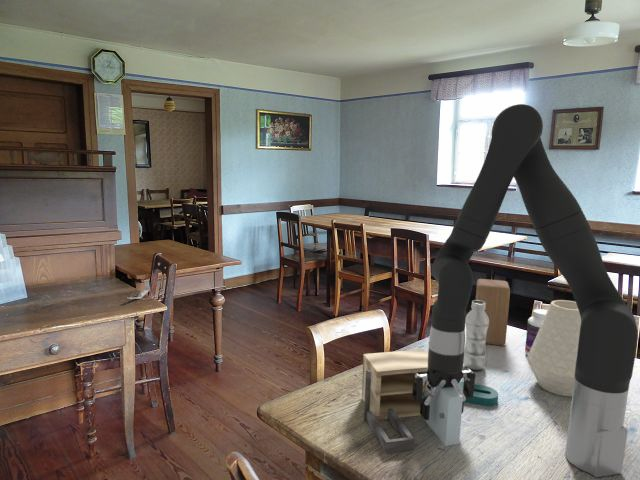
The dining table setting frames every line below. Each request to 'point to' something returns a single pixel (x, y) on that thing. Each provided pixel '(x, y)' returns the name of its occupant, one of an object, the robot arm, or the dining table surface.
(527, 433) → the dining table surface
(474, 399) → the bracket
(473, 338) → the plastic bottle
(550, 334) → the vase
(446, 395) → the door
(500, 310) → the wooden block
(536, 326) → the pill bottle
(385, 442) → the wooden caddy
